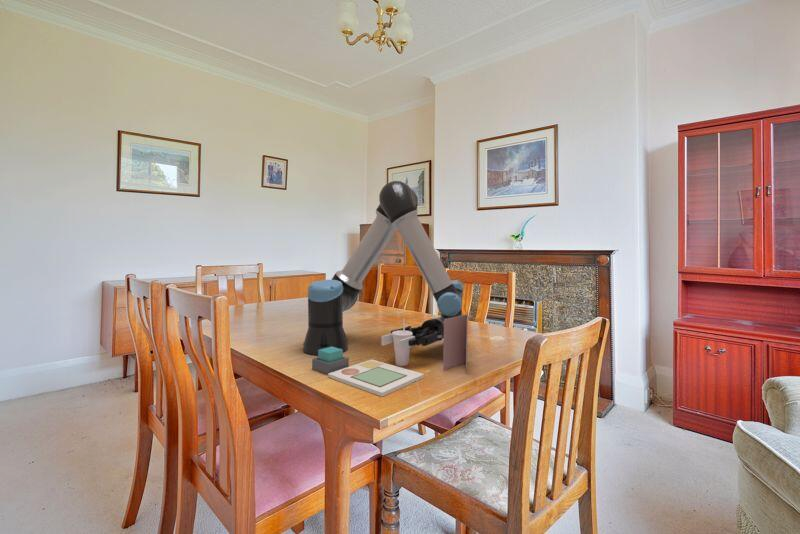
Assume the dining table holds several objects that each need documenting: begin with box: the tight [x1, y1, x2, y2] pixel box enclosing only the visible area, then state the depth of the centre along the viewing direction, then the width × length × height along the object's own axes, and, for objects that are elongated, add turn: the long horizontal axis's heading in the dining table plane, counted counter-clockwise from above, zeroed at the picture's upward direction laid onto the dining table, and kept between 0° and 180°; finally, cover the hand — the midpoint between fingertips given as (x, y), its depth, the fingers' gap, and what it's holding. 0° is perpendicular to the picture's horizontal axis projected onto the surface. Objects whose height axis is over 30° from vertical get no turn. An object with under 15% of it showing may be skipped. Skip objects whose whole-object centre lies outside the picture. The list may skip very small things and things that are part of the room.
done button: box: [317, 346, 344, 363], centre depth 109 cm, size 5×5×3 cm
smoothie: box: [392, 318, 413, 367], centre depth 113 cm, size 6×6×14 cm
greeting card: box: [442, 313, 469, 371], centre depth 110 cm, size 11×7×15 cm, turn 133°
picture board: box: [327, 358, 425, 398], centre depth 102 cm, size 20×17×1 cm
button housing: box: [311, 356, 350, 375], centre depth 109 cm, size 7×7×3 cm
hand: (391, 342), depth 109 cm, fingers closed on smoothie, 6 cm apart
